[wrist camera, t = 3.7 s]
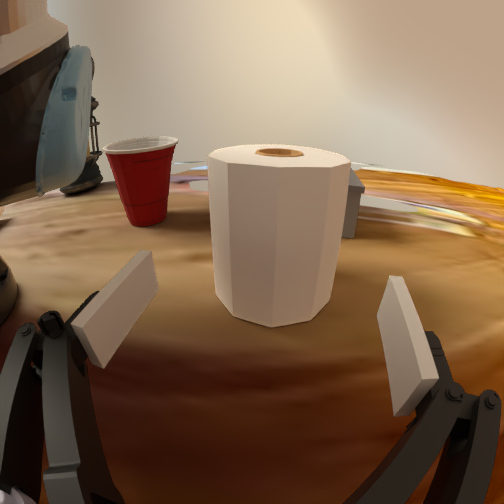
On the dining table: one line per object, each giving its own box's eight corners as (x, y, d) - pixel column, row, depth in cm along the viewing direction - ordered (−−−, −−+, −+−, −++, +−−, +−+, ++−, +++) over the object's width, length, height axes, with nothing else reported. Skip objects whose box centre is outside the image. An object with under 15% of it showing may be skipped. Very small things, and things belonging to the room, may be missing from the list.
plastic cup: (137, 242, 33) (124, 147, 27) (103, 223, 38) (91, 147, 33) (199, 215, 40) (194, 134, 35) (157, 202, 46) (151, 134, 40)
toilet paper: (349, 287, 25) (372, 158, 19) (275, 348, 19) (287, 174, 13) (271, 249, 31) (275, 140, 26) (194, 286, 25) (181, 152, 19)
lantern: (47, 199, 53) (35, 63, 36) (79, 183, 64) (70, 63, 47) (86, 197, 51) (75, 43, 34) (117, 180, 63) (110, 48, 46)
